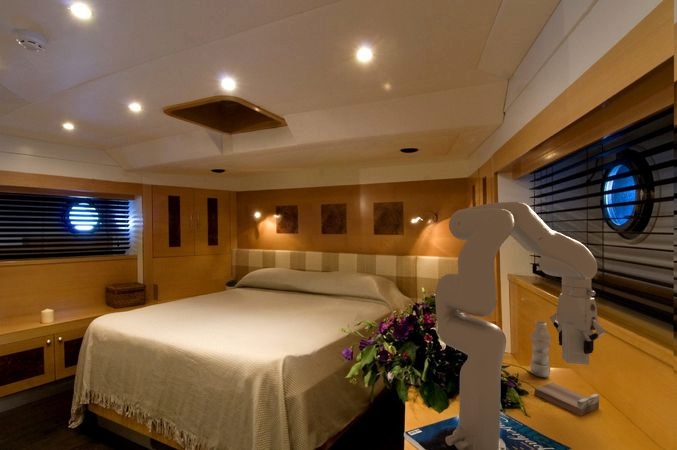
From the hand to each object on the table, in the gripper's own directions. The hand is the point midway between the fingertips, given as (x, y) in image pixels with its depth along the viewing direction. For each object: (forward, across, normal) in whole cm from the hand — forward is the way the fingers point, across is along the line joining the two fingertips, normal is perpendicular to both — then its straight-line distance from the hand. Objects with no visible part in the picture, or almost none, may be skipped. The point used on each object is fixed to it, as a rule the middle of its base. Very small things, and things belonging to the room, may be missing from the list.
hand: (575, 348), depth 105 cm
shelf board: (+18, +3, -1) cm, 19 cm away
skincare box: (+4, 0, 0) cm, 4 cm away
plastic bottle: (+19, +19, -11) cm, 29 cm away
